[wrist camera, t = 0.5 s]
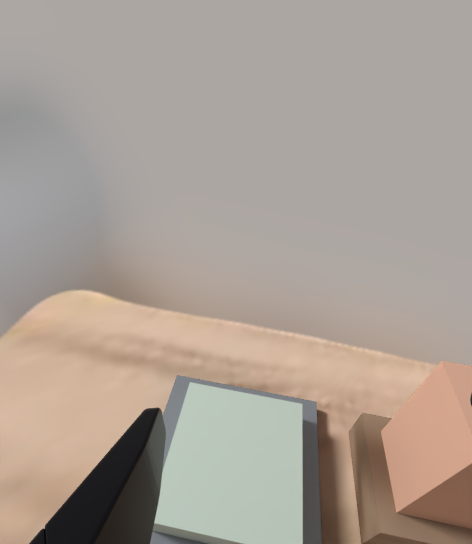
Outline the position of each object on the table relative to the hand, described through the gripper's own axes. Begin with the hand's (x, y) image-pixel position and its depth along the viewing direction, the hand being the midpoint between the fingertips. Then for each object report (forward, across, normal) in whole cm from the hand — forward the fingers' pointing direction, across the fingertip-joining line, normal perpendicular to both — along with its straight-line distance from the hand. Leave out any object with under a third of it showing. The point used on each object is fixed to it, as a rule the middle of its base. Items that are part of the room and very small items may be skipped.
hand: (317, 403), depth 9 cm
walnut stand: (+7, -8, +15) cm, 18 cm away
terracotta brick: (+6, -8, +12) cm, 16 cm away
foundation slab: (+7, +3, +12) cm, 14 cm away
